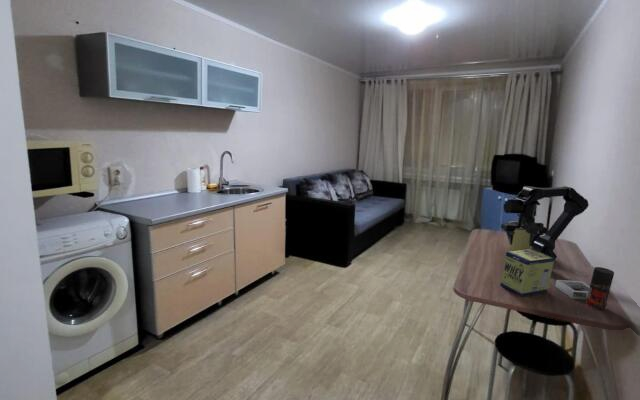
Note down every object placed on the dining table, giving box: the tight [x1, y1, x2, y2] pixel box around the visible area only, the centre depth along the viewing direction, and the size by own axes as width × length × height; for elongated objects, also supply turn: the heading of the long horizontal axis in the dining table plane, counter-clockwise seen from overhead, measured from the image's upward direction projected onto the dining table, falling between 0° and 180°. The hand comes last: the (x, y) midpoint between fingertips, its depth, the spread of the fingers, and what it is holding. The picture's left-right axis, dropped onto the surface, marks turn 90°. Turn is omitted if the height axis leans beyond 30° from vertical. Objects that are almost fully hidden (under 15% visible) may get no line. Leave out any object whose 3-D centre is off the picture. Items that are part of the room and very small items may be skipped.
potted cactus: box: [508, 205, 539, 251], centre depth 190 cm, size 15×15×30 cm
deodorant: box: [585, 266, 615, 311], centre depth 132 cm, size 6×6×15 cm
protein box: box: [500, 249, 555, 297], centre depth 144 cm, size 10×16×16 cm
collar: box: [555, 279, 590, 300], centre depth 144 cm, size 11×11×3 cm
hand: (520, 245), depth 164 cm, fingers open, 9 cm apart
